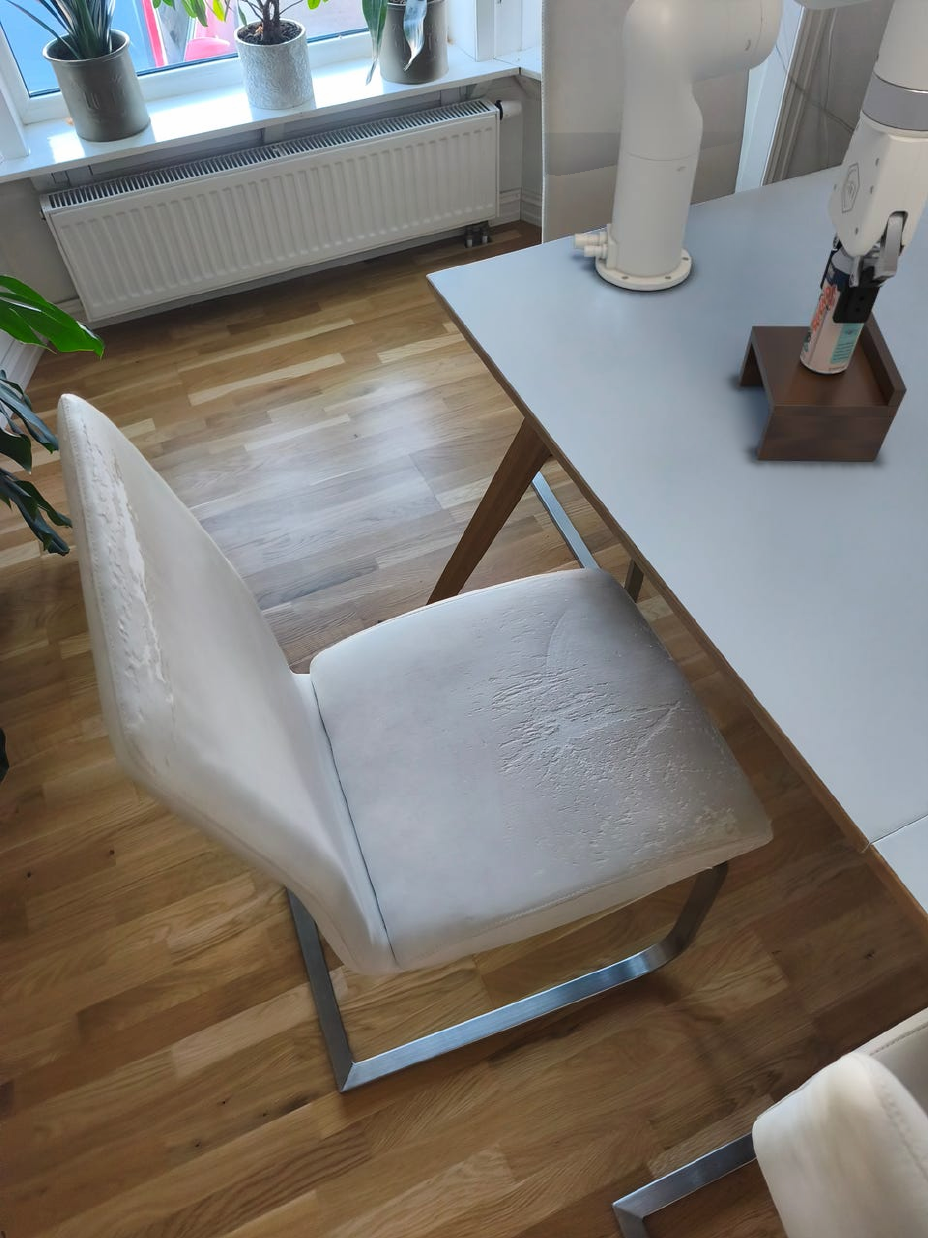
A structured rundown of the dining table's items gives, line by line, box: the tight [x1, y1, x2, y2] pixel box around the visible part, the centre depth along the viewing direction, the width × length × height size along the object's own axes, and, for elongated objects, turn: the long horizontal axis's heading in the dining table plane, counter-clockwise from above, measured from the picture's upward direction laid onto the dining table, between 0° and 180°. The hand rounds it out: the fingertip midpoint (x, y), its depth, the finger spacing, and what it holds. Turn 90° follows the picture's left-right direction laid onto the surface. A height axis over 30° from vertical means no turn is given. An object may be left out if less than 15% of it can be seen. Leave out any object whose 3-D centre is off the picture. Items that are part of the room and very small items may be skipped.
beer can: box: [800, 244, 880, 374], centre depth 83 cm, size 5×5×12 cm
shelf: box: [737, 310, 908, 463], centre depth 90 cm, size 12×14×9 cm
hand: (842, 303), depth 83 cm, fingers closed on beer can, 4 cm apart
